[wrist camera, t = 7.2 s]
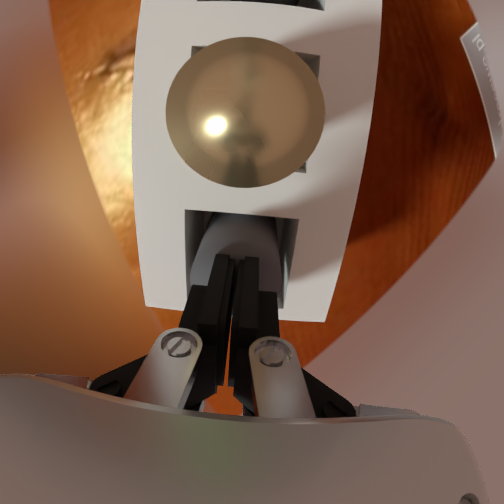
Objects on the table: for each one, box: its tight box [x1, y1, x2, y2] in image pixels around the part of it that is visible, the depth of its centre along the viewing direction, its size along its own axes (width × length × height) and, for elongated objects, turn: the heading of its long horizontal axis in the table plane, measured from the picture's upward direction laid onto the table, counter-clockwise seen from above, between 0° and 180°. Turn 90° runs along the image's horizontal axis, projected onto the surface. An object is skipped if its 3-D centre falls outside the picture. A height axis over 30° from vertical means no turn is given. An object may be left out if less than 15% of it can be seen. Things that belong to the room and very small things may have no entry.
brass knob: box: [165, 37, 325, 188], centre depth 9 cm, size 4×4×6 cm
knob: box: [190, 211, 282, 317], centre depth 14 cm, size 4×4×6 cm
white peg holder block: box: [132, 0, 382, 322], centre depth 13 cm, size 19×9×6 cm, turn 175°
